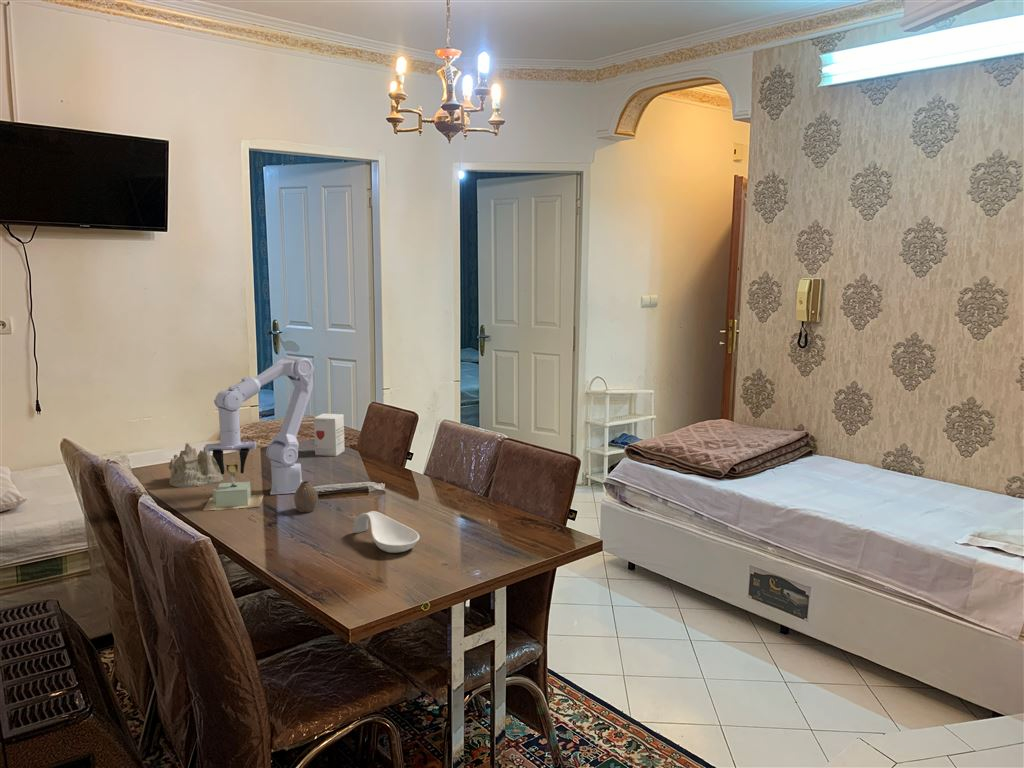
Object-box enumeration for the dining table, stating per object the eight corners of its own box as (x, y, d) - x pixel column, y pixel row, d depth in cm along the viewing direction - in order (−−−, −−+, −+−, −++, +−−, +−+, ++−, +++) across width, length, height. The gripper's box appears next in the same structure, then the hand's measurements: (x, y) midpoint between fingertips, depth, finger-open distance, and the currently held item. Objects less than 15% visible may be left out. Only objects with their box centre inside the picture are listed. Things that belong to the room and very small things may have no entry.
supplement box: (314, 455, 288) (312, 417, 286) (323, 449, 297) (322, 413, 294) (336, 456, 287) (335, 418, 284) (345, 450, 295) (344, 413, 293)
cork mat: (263, 495, 237) (263, 494, 237) (259, 507, 226) (259, 506, 226) (210, 499, 234) (210, 498, 234) (203, 511, 222) (203, 509, 222)
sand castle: (226, 481, 252) (221, 438, 250) (175, 492, 243) (169, 447, 241) (215, 474, 265) (210, 433, 263) (165, 483, 256) (160, 441, 254)
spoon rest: (428, 549, 192) (428, 523, 191) (390, 562, 184) (389, 534, 183) (376, 527, 209) (376, 502, 208) (340, 537, 201) (339, 512, 200)
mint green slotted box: (251, 496, 235) (250, 481, 234) (247, 505, 226) (247, 489, 225) (216, 498, 233) (215, 483, 232) (211, 507, 224) (210, 491, 223)
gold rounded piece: (246, 486, 233) (244, 460, 232) (243, 492, 227) (242, 466, 225) (223, 488, 231) (222, 462, 230) (220, 494, 225) (218, 467, 224)
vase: (311, 514, 219) (310, 486, 218) (290, 513, 220) (288, 484, 219) (322, 507, 226) (321, 479, 224) (301, 506, 227) (300, 478, 226)
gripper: (202, 433, 221) (205, 478, 223) (253, 431, 224) (256, 475, 226) (206, 428, 227) (209, 471, 229) (256, 426, 231) (258, 469, 233)
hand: (232, 473), depth 228 cm, fingers open, 5 cm apart
